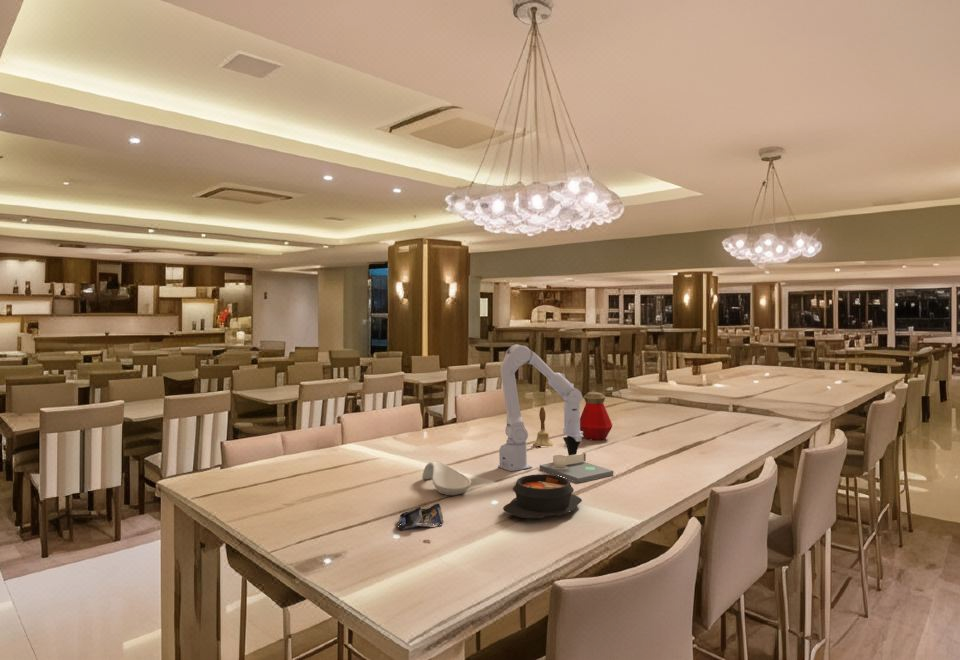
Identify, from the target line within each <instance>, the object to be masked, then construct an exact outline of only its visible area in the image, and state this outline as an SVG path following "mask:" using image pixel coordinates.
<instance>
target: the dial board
mask: <svg viewBox="0 0 960 660" xmlns="http://www.w3.org/2000/svg"><path fill="white" fill-rule="evenodd" d="M540 469H542V470H541V471H543V470H544V471H543V472H546V471H547V473H549V472H550V473H549V474H552V473H553V474H552V475H554V474H556V475H555V476H557V475H559V476H562V477H565V478H567V480H569V479H570V480H569V481H571V480H573V481H572V482H574V481H575V483H577V482H578V483H577V484H579V482H580V483H584V482H583V481H585V482H588V480H589V481H594V480H597V479H602V478H607V477H612V476H614V470H613V469H609V468H606V467H603V466H599V465H596V464H593V463H589V462H586V461H584V462H579V463H574V464H569V465H566V466H565V467H554V466H553V462H550V463H549V462H548V463H545V464H539V470H540ZM593 479H594V480H593Z"/></svg>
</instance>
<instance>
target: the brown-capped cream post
mask: <svg viewBox="0 0 960 660" xmlns="http://www.w3.org/2000/svg"><path fill="white" fill-rule="evenodd" d="M586 454H587V453H586V452H581V453H576V454H574V455H562V454H556V455H553V456H552V463H553V466H554V467H565V466H566V465H569V464H574V463H579V462H586V458H587V455H586Z"/></svg>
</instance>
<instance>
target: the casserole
mask: <svg viewBox="0 0 960 660" xmlns="http://www.w3.org/2000/svg"><path fill="white" fill-rule="evenodd" d="M512 490H513V492H514V493H515V497H514V498H513V499H512V500H511V501H510V502H509V503H507V504H505V505H504V506H503V507H502V510H503V511H504V512H505V513H506V514H507V513H508V514H510V515H511V516H515V517H517V518H523V519H531V520H532V519H539V518H540V519H541V518H553V517H558V516H561V515H565V514H569V513H571V512H573V511H574V510H576V508H577V507H578V505H579V504H580V503H582V502H583V499H582V498H581V497H580V496H578V495H575V494H573V493H574V490H575V489H574V487H573V486H572V485H571V482H570V480H569V479H566V478H563V477H560V476H557V475H554V474H543V473H541V474H529V475H524V476H521V477H519V478H517V480H516V481H515V485H514V486H513V487H512Z"/></svg>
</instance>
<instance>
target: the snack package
mask: <svg viewBox="0 0 960 660" xmlns="http://www.w3.org/2000/svg"><path fill="white" fill-rule="evenodd" d="M423 507H424V505H421V506H419V507H415V509H411V510H409V511H405V512H403V513H400V515H399V518H398V522H397V524H396V530H397V531H398V530H400V531H402V530H409V528H410V529H413V528H417V527H427V528H428V527H429V528H430V526H434V525H439V526H441V525H440V524H442V525H443V524H444V516H443V512H442V508H441V505H440V503H435V504H432V506H430V507H428V506H426V508H423ZM417 523H427V524H431V525H429V526H428V525H427V524H417ZM400 524H401V525H400ZM433 524H434V525H433ZM398 526H399V527H398ZM439 526H438V527H439ZM434 527H437V526H434Z"/></svg>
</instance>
